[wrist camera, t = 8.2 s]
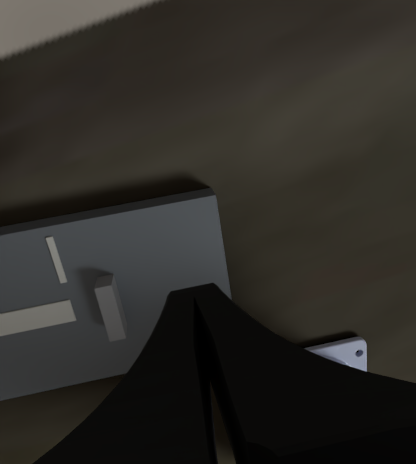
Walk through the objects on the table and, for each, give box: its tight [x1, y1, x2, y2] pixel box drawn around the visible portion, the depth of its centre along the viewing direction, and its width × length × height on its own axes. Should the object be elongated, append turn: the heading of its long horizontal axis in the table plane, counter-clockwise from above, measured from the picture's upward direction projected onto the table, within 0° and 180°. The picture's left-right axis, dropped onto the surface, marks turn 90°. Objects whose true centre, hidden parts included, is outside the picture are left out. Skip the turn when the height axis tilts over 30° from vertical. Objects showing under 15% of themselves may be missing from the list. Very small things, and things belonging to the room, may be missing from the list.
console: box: [0, 188, 232, 401], centre depth 20 cm, size 9×22×3 cm, turn 99°
